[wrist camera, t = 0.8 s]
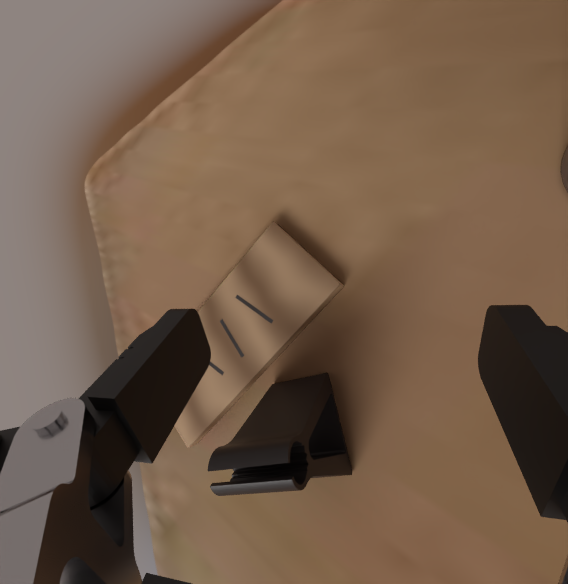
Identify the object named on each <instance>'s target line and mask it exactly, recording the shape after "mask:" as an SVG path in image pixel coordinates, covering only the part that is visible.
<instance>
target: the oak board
mask: <svg viewBox="0 0 568 584" xmlns="http://www.w3.org/2000/svg"><path fill="white" fill-rule="evenodd" d="M343 287H344V285H343V284H342V283H341V282H340V281H339V280H338V279H336V278H335V277H334V276H333V275H332V274H331V273H330V272H329V271H328V270H327V269H326V268H325V267H323V266H322V265H321V264H320V263H319V262H318V261H317V260H316V259H315V258H314V257H313V256H312V255H310V254H309V253H308V252H307V251H306V250H305V249H304V248H303V247H302V246H301V245H300V244H299V243H297V242H296V241H295V240H294V239H293V238H292V237H291V236H290V235H289V234H288V233H287V232H286V231H284V230H283V229H282V228H281V227H280V226H279V225H278V224H276V223H275V222H274V221H273V222H272V223H271V224H270V226H269V227H268V228H267V229H266V230H265V232H264V233H263V234H262V235H261V236H260V238H259V239H258V240H257V241H256V242H255V244H254V245H253V246H252V247H251V248H250V250H249V251H248V252H247V253H246V254H245V256H244V257H243V258H242V259H241V261H240V262H239V263H238V264H237V265H236V267H235V268H234V269H233V270H232V271H231V273H230V274H229V275H228V276H227V277H226V279H225V280H224V281H223V282H222V283H221V285H220V286H219V287H218V288H217V289H216V291H215V292H214V293H213V294H212V295H211V297H210V298H209V299H208V300H207V301H206V303H205V304H204V305H203V306H202V308H201V309H200V310H199V311H198V314H199V316H200V319H201V322H202V325H203V328H204V331H205V334H206V337H207V340H208V343H209V345H210V349H211V360H210V364H209V367H208V369H207V370H206V372H205V374H204V375H203V377H202V379H201V381H200V382H199V384H198V386H197V387H196V389H195V391H194V393H193V394H192V396H191V398H190V399H189V401H188V403H187V405H186V406H185V408H184V410H183V412H182V413H181V415H180V417H179V418H178V420H177V422H176V424H175V425H174V426H175V428H176V429H177V431H178V433H179V434H180V436H181V438H182V439H183V441H184V442H185V444H186V446H187V447H188V448H189V447H191V446H193V445H195V444H197V443H198V442H199V441H200V440H201V439H202V438H203V437H204V436H205V435H206V434H207V433H208V431H209V430H210V429H211V428H212V427H213V426H214V425H215V424H216V423H217V422H218V421H219V420H220V419H221V418H222V416H223V415H224V414H225V413H226V412H227V411H228V410H229V409H230V408H231V407H232V406H233V405H234V404H235V402H236V401H237V400H238V399H239V398H240V397H241V396H242V395H243V394H244V393H245V392H246V391H247V390H248V389H249V387H250V386H251V385H252V384H253V383H254V382H255V381H256V380H257V379H258V378H259V377H260V376H261V375H262V373H263V372H264V371H265V370H266V369H267V368H268V367H269V366H270V365H271V364H272V363H273V362H274V361H275V360H276V358H277V357H278V356H279V355H280V354H281V353H282V352H283V351H284V350H285V349H286V348H287V347H288V346H289V344H290V343H291V342H292V341H293V340H294V339H295V338H296V337H297V336H298V335H299V334H300V333H301V332H302V331H303V329H304V328H305V327H306V326H307V325H308V324H309V323H310V322H311V321H312V320H313V319H314V318H315V317H316V316H317V314H318V313H319V312H320V311H321V310H322V309H323V308H324V307H325V306H326V305H327V304H328V303H329V302H330V300H331V299H332V298H333V297H334V296H335V295H336V294H337V293H338V292H339V291H340V290H341V289H342V288H343Z"/></svg>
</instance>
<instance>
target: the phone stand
mask: <svg viewBox="0 0 568 584" xmlns="http://www.w3.org/2000/svg"><path fill="white" fill-rule="evenodd" d="M226 469H233V470H234V473H233V474H232V478H231V480H230V482H221V483H212V484H211V486H210V488H211V490H212V491H213V492H214V493H215V494H216V495H218V496H225V495H240V494H254V493H268V492H283V491H297V490H303V489H304V488H305V486H306V484H307V482H308V481H309V479H310V478H318V477H330V476H342V475H352V468H351V464H350V460H349V456H348V452H347V447H346V443H345V439H344V435H343V431H342V427H341V423H340V422H339V415H338V411H337V407H336V403H335V399H334V395H333V391H332V387H331V383H330V379H329V375H328V373H324V374H319V375H315V376H310V377H305V378H300V379H295V380H291V381H286V382H281V383H276V384H272V385H271V387H270V388H269V390H268V391H267V392H266V394H265V395H264V396H263V398H262V399H261V401H260V402H259V403H258V405H257V406H256V408H255V409H254V410H253V412H252V413H251V415H250V416H249V417H248V419H247V420H246V422H245V423H244V424H243V426H242V427H241V429H240V430H239V431H238V433H237V434H236V435H235V437H234V438H233V440H232V441H231V442H230V443H228V444H227V445H225V446H221V447H218V448H217V449H216V450H215V451H214V452H213V453H212V455H211V458H210V460H209V465H208V471H216V470H226Z"/></svg>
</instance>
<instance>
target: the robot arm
mask: <svg viewBox="0 0 568 584" xmlns="http://www.w3.org/2000/svg"><path fill="white" fill-rule="evenodd" d="M561 175H562V180H563V184H564V186H565V188H566V190H567V192H568V147H567V148H566V151H565V153H564V156H563V159H562V166H561ZM210 360H211V349H210V345H209V343H208V340H207V337H206V334H205V331H204V328H203V325H202V322H201V319H200V316H199V314H198V312H197V311H196V310H195V309H170V310H168V311H167V312H166V313H165V314H164V315H163V316H162V317H161V319H160V320H159V321H158V322H157V323H156V324H155V325H154V326H153V327H151V328H149V329H148V330H146V331H145V332H143V333H142V334H140V335H139V336H138V337H137V338H136V339H135V340H134V341H133V342H132V343H131V344H130V346H129V347H128V349H126V350H125V351H124V352H123V353H122V354H121V355H120V356H119V359H116V360H115V361H114V362H113V363H112V364H111V365H110V367H108V369H107V370H106V371H105V372H104V373H103V374H102V375H101V376H100V377H99V378H98V379H97V380H96V381H95V382H94V383H93V384H92V385H91V386H90V387H89V388H88V390H86V391H85V393H84V394H83V395H82V396H81V397H80V398H79V399H76V398H67V399H63V400H60V401H57V402H54V403H52V404H50V405H48V406H46V407H44V408H42V409H41V410H39V411H38V412H36V413H35V414H33V415H32V416H31V417H30V418H29V419H28V420H26V421H25V422H24V423H23V425H22V426H21V427H17V428H12V429H7V430H2V431H0V584H191V583H187V582H183V581H179V580H174V579H170V578H166V577H162V576H157V575H153V574H149V573H146V575H145V577H144V579H143V581H142V579H141V576H140V573H139V570H138V567H137V564H136V561H135V556H134V547H133V508H132V478H131V474H130V472H129V471H128V470H129V468H130V466H131V465H132V463H133V462H134V461H136V462H144V463H153V461H154V460H155V458H156V456H157V455H158V453H159V451H160V449H161V448H162V446H163V444H164V442H165V441H166V439H167V437H168V436H169V434H170V432H171V430H172V429H173V427H174V425H175V424H176V422H177V420H178V418H179V417H180V415H181V413H182V412H183V410H184V408H185V406H186V405H187V403H188V401H189V399H190V398H191V396H192V394H193V393H194V391H195V389H196V387H197V386H198V384H199V382H200V381H201V379H202V377H203V375H204V374H205V372H206V370H207V369H208V367H209V364H210ZM478 367H479V373H480V376H481V379H482V382H483V384H484V386H485V389H486V391H487V393H488V396H489V398H490V400H491V402H492V405H493V407H494V409H495V412H496V414H497V416H498V419H499V421H500V423H501V426H502V428H503V430H504V432H505V435H506V437H507V439H508V442H509V444H510V446H511V449H512V451H513V453H514V456H515V458H516V460H517V463H518V465H519V467H520V469H521V472H522V474H523V476H524V479H525V481H526V483H527V486H528V488H529V490H530V493H531V495H532V497H533V499H534V502H535V504H536V506H537V509H538V511H539V513H540V516H541V517H548V518H556V519H563V520H567V522H568V332H566V331H564V330H563V329H561V328H559V327H557V326H546V325H545V323H544V322H543V321H542V320H541V319H540V317H539V316H538V315H537V314H536V313H535V311H534V310H533V309H532V308H531V307H530V306H528V305H491V306H489V308H488V309H487V312H486V317H485V322H484V327H483V332H482V337H481V343H480V348H479V354H478ZM558 584H568V556H567V559H566V562H565V565H564V567H563V570H562V573H561V576H560V579H559V582H558Z"/></svg>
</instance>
